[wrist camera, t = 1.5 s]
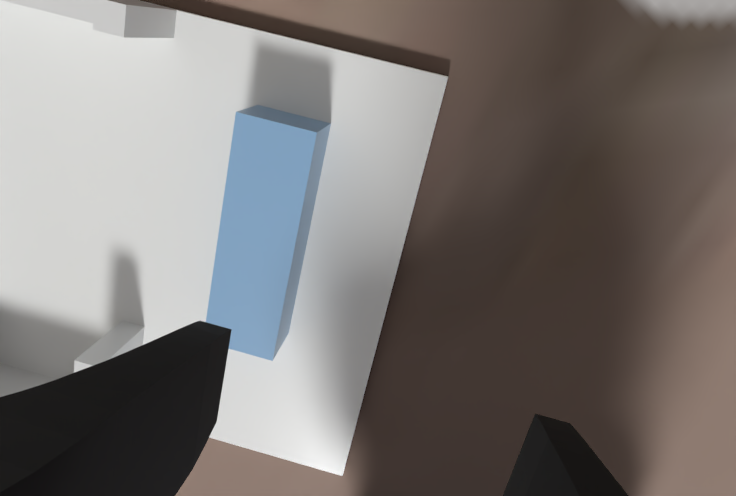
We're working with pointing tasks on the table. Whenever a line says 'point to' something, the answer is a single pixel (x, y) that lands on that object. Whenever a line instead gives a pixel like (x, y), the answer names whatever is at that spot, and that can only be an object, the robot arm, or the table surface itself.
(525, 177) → the table surface
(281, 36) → the white storage tray
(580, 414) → the table surface
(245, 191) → the pale blue rectangular prism
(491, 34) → the table surface
